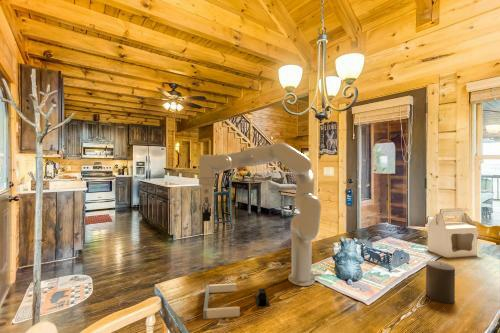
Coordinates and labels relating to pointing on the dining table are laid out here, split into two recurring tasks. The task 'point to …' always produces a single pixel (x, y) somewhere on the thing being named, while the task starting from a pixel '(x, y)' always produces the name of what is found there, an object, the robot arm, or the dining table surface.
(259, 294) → the black boxy piece
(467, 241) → the gable box
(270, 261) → the dining table surface
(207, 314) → the u-shaped wooden bracket
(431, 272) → the pillar candle
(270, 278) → the dining table surface
